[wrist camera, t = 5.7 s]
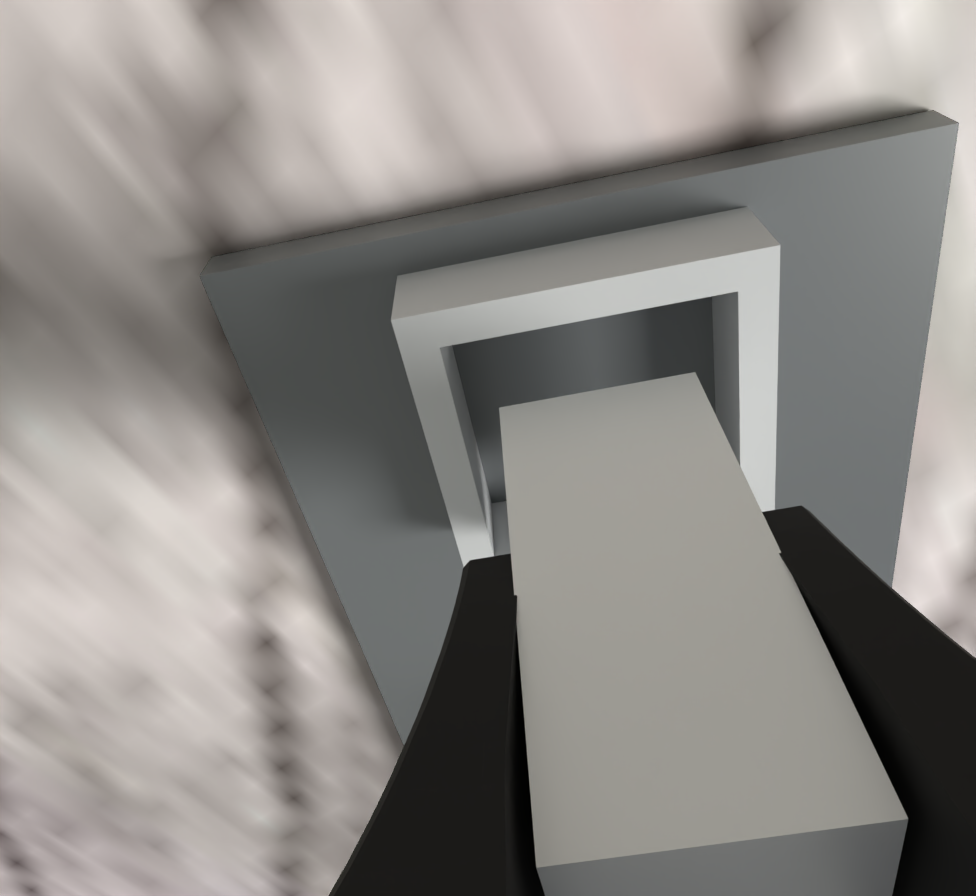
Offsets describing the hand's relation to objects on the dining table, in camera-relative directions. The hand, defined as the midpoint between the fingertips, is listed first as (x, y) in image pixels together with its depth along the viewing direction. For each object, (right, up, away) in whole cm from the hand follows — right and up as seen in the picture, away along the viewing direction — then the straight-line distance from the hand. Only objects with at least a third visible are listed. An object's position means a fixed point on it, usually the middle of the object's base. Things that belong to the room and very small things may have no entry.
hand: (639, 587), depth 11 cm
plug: (0, +2, +3) cm, 3 cm away
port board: (+1, -1, +8) cm, 8 cm away
